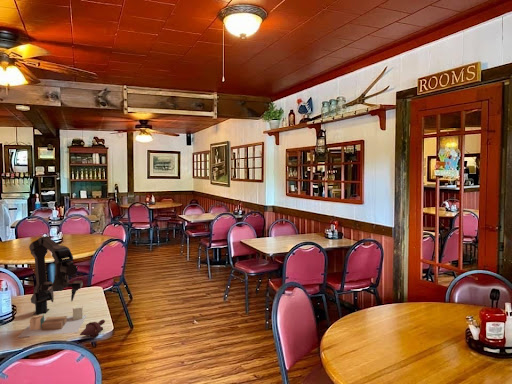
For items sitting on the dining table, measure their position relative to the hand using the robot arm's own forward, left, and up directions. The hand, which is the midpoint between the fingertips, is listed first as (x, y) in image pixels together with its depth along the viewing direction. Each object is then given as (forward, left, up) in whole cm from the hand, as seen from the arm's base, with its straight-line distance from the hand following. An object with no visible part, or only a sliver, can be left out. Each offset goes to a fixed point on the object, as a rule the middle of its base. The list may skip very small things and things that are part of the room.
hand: (62, 301), depth 196 cm
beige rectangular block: (-5, +6, -11) cm, 14 cm away
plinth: (+4, -3, -11) cm, 12 cm away
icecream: (+19, +18, -12) cm, 29 cm away
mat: (+3, -3, -11) cm, 12 cm away
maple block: (+4, -8, -9) cm, 13 cm away
